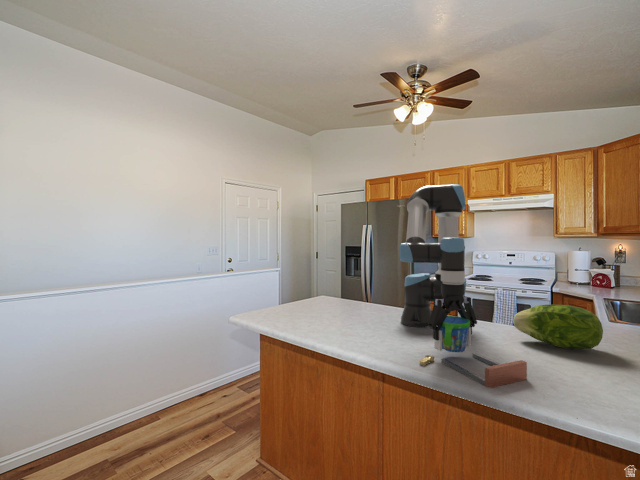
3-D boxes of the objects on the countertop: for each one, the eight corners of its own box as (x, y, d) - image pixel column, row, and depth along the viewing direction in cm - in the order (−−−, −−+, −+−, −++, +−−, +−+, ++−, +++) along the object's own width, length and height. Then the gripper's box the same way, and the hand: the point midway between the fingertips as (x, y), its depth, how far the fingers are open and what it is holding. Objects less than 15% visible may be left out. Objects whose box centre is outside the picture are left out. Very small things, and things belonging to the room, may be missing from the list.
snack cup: (462, 360, 97) (462, 327, 97) (428, 352, 104) (428, 321, 104) (476, 346, 109) (475, 317, 109) (445, 340, 116) (444, 312, 116)
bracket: (474, 356, 107) (474, 341, 107) (526, 379, 89) (526, 362, 89) (441, 362, 102) (441, 347, 102) (489, 387, 85) (489, 369, 85)
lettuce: (515, 334, 131) (514, 297, 131) (600, 347, 115) (600, 304, 115) (511, 344, 119) (510, 303, 119) (605, 360, 103) (605, 313, 103)
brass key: (427, 358, 106) (427, 354, 106) (435, 360, 104) (435, 356, 104) (417, 364, 101) (417, 360, 101) (426, 366, 99) (426, 362, 99)
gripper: (471, 279, 114) (471, 339, 114) (416, 283, 106) (416, 347, 106) (488, 282, 107) (489, 346, 107) (430, 286, 99) (431, 355, 99)
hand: (453, 347), depth 106 cm, fingers closed on snack cup, 11 cm apart
